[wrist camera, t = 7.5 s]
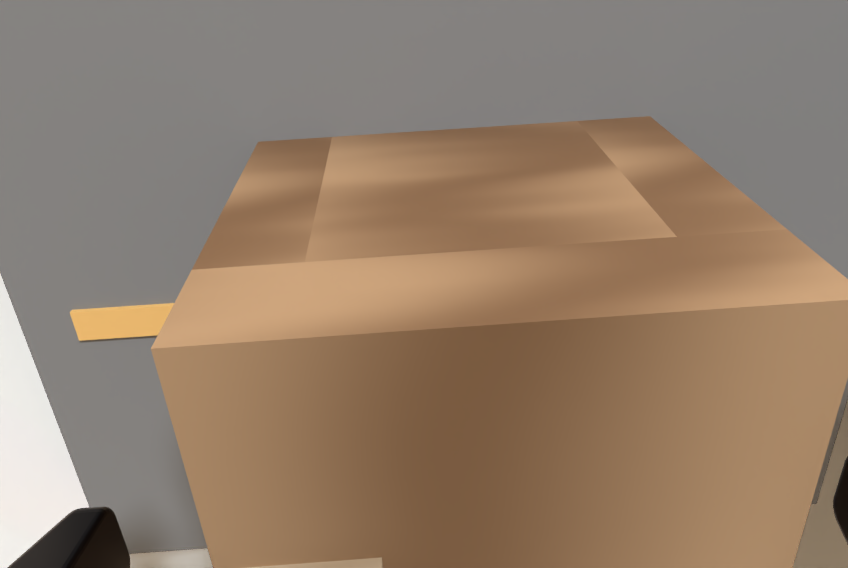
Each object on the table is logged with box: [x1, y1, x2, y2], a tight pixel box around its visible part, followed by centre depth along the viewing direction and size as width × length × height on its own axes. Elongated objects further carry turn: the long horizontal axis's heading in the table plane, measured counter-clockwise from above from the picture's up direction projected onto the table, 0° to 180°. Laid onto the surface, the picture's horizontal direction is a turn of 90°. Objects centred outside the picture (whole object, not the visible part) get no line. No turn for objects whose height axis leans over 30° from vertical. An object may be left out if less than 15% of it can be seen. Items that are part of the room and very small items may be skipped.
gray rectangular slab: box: [0, 0, 848, 554], centre depth 14 cm, size 16×12×2 cm
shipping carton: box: [151, 116, 848, 568], centre depth 10 cm, size 6×6×6 cm
